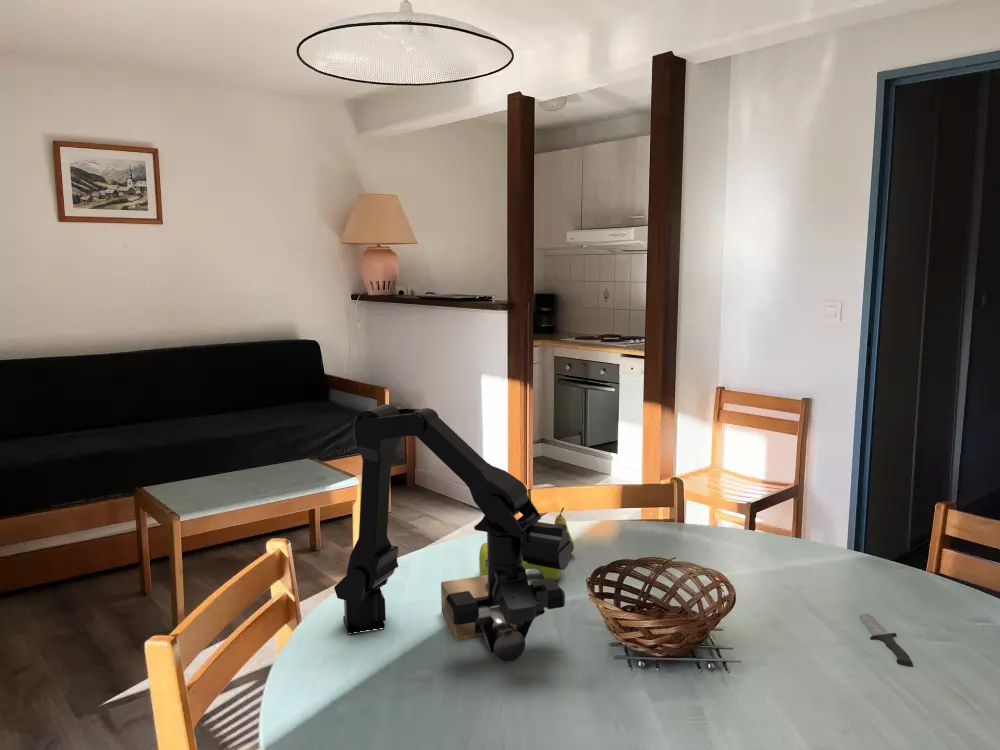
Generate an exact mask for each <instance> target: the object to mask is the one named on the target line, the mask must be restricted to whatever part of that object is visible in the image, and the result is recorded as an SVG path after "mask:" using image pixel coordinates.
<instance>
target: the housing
mask: <svg viewBox="0 0 1000 750" xmlns="http://www.w3.org/2000/svg"><path fill="white" fill-rule="evenodd" d="M486 584H488V582H487V575H484V576H481V575H477V576H473V577H471V576H470V577H466V578H459V579H452V580H446V581H440V591H441V592H440V594H441V595H440V596H441V600H440V601H441V602H440V603H441V605H440V606H441V615H442V614H443V616H444V617H443V616H442V617H443V619H444V618H445V619H444V621H445V620H446V621H445V623H446V624H447V626H448V627H449V629H450V631H451V633H452V635H453V636H454V638H455V640H456V641H459V640H464V639H470V638H475V636H476V637H482V636H484V635H483V632H482V629H481V627H480V626H479V625H476V624H475V623H474V622H472V623H466V624H461V625H457V624H454V623H453V622H452V620H451V618H450V617H449V615H448V613H447V612H446V610H445V599H446V597H447V596H448V594H451V593H458V592H464V591H469V592H470V593H471V595H472V596H473V597H474V598H478V597H485V596H488V592H487V591H486ZM498 608H499V609H500V607H498ZM500 610H501V609H500ZM501 612H502V611H501ZM511 625H512V626H513V628H514V629H516V624H511ZM481 635H482V636H481Z"/></svg>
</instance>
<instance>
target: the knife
mask: <svg viewBox="0 0 1000 750" xmlns="http://www.w3.org/2000/svg"><path fill="white" fill-rule="evenodd" d="M858 617H859V621H860V622H861V624H862V625H863V626H864V627H865V628H866V629H867V630H868V632H870V633H871V634H872V635H871V636H870V637H869V640H872V641H875V640H876V641H881V643H883V644H885V646H886V647H887V648H888V649H890V650H891V652H892V653H893V654H894V655H895V656H896V657H897V658H896V663H897V664H898V665H901V666H907V667H911V666H913V661H912V659H911V658H910V656H909V654H908V653H907V652H906V651H905V650H904V649H903V647H901V646H900V645H899V644H898V643H897V641H896V640H895V639H894V638H895V637H897V633H896V632H892V633H890V632H889V631H888V630H887V629H886V628H885V627H884V626H883V625H881V623H880V621H878V620H877V619H876V618H875V617H874V616H873V615H872V614H870V613H867V614H860V615H859V616H858Z"/></svg>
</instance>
